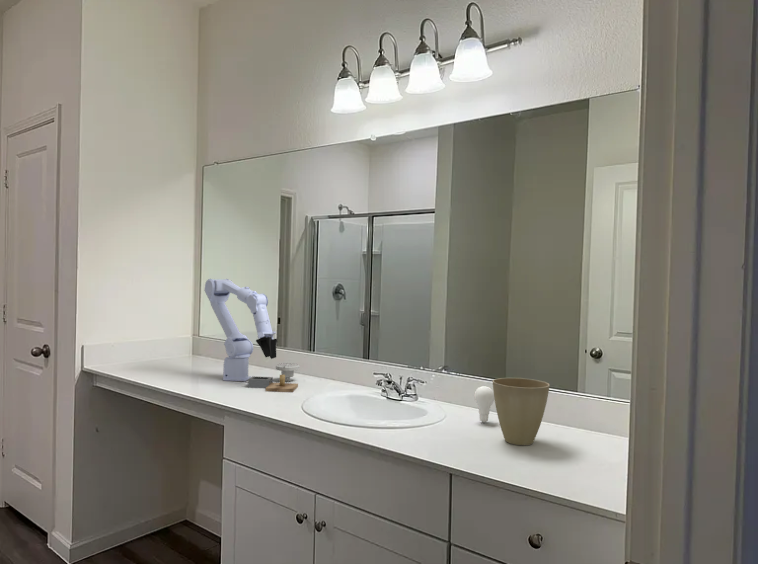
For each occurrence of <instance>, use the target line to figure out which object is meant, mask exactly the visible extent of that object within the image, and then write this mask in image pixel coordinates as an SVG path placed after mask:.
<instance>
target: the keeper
mask: <svg viewBox="0 0 758 564" xmlns="http://www.w3.org/2000/svg"><path fill="white" fill-rule="evenodd" d="M298 387H299V383H294V382H293V383H291V382H288V383H287V382H286V381H285V375H281V374H279V382H273V383H271V384H270V385H269V386H267V387H266V388H265V392H274V393H275V392H278V393H279V392H280V393H293V392H294V391H296V390H297V388H298Z"/></svg>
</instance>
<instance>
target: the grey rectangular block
mask: <svg viewBox="0 0 758 564" xmlns="http://www.w3.org/2000/svg"><path fill="white" fill-rule="evenodd" d="M273 380H274V377H273V376H254V375H252V376H251V378H249V379H248V380H247V388H248V389H250V388H253V389H266V387H267V386H269V385H270V384H271V383H274V381H273Z"/></svg>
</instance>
